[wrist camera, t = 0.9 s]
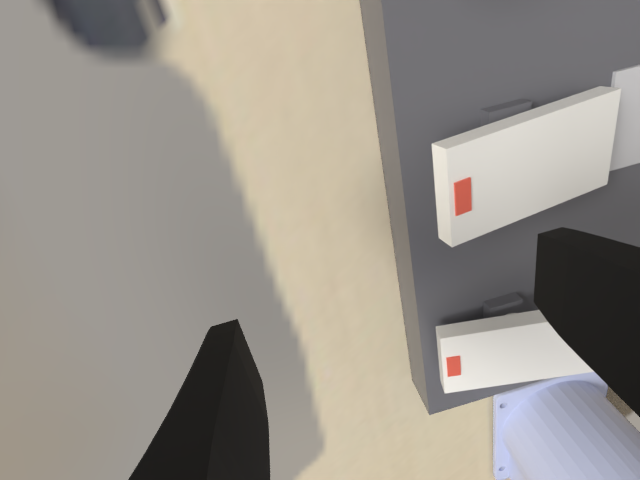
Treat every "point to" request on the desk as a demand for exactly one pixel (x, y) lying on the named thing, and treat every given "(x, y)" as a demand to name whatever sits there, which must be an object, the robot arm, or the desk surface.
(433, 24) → the rocker switch panel
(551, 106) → the rocker middle
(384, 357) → the desk surface
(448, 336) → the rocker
